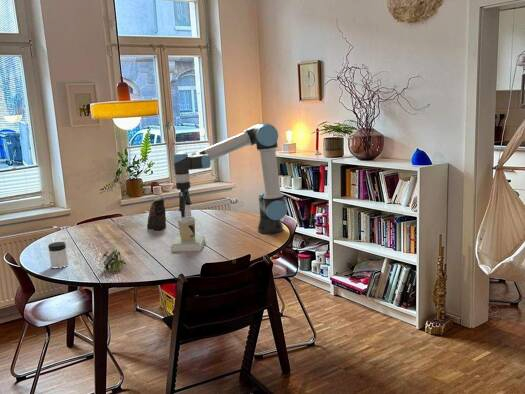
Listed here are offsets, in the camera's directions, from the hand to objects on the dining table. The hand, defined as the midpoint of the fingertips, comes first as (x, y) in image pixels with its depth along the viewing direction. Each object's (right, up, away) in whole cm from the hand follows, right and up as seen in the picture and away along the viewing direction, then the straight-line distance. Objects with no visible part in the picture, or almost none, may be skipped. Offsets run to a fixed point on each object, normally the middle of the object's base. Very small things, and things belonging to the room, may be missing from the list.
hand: (186, 219), depth 277 cm
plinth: (+1, -15, +3) cm, 16 cm away
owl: (-26, -8, +47) cm, 54 cm away
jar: (-62, -23, -18) cm, 69 cm away
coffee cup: (0, -11, +2) cm, 12 cm away
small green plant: (-31, -23, -27) cm, 47 cm away
